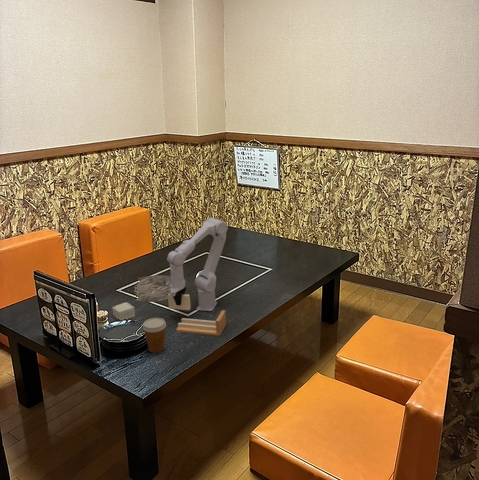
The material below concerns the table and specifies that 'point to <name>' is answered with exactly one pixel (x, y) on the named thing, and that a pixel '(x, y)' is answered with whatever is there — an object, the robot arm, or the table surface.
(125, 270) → the table surface
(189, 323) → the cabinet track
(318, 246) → the table surface
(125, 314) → the small box
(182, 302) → the door panel
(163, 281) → the grey fur rug
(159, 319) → the disposable coffee cup
